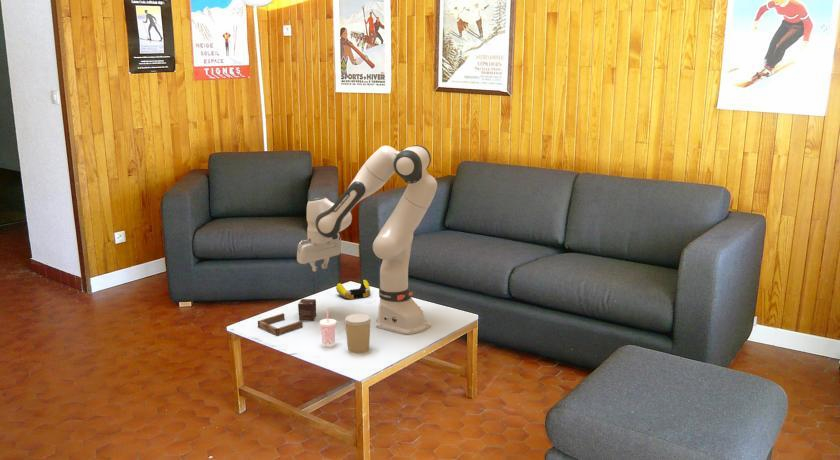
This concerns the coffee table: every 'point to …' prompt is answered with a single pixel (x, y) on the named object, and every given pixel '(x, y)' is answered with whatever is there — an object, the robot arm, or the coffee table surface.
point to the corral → (266, 326)
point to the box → (307, 309)
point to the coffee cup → (358, 332)
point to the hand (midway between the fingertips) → (319, 269)
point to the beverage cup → (328, 331)
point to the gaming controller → (354, 291)
